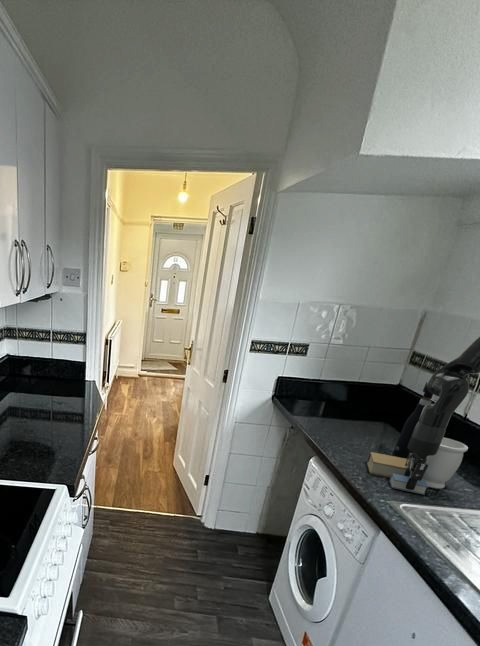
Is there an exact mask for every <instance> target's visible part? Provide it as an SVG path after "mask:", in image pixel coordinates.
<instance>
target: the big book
mask: <svg viewBox="0 0 480 646" xmlns="http://www.w3.org/2000/svg"><path fill="white" fill-rule="evenodd" d="M406 461H407V459H405V458H400V457H395V456H392V455H390V454H384V453H380V452H374V451H370V453H369V455H368V458H367V461H366V464H367V468H368V472H369V474H371V475H376V476H380V477H386V478H391V475H392V473H395V474H399V475H404V473H405V471H406V470H405V467H406V466H405V464H406Z"/></svg>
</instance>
